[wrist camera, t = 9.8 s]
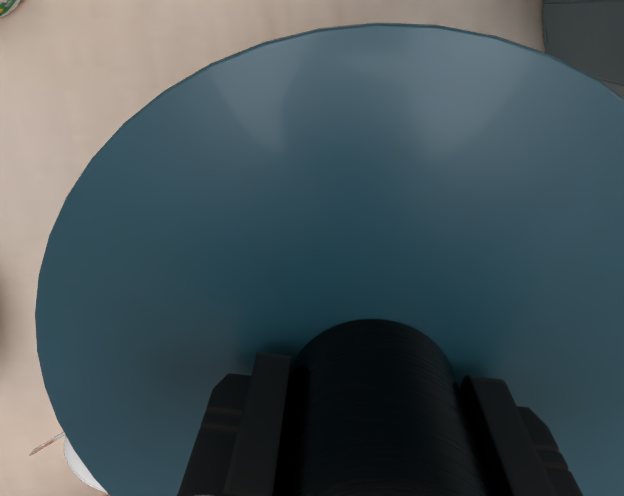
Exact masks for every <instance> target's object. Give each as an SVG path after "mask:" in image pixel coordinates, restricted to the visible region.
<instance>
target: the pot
mask: <svg viewBox="0 0 624 496" xmlns="http://www.w3.org/2000/svg"><path fill="white" fill-rule="evenodd" d="M542 24H543V38H544V44H545V49H546V54H549V55H552V56H554V57H555V58H557V59H559V60H561V61H563V62H565V63H567V64H569V65H571V66H572V67H574V68H576V69H578V70H580V71H582V72H584V73H586V74H588V75H590V76H591V77H593V78H595V79H597V80H599V81H601V82H602V83H603V84H605V85H606V86H607V87H609V88H610V89H611V90H613V91H614V92H615V93H617V94H618V95H619V96H621V97H622V98H623V99H624V0H543V10H542Z"/></svg>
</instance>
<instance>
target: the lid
mask: <svg viewBox="0 0 624 496" xmlns="http://www.w3.org/2000/svg"><path fill="white" fill-rule="evenodd" d="M35 321H36V337H37V352H38V357H39V361H40V366H41V371H42V375H43V380H44V384H45V388H46V391H47V393H48V396H49V399H50V401H51V404H52V407H53V409H54V412H55V415H56V417H57V420H58V422H59V424H60V425H61V427H62V429H63V431H64V433H65V435H66V437H67V438H68V440H69V442H70V444H71V446H72V448H73V450H74V451H75V452H76V454H77V455H78V457H79V458H80V459H81V461H82V462H83V464H84V465H85V466H86V468H87V469H88V471H89V472H90V473H91V475H92V476H93V478H94V479H95V480H96V481H97V482H98V483H99V484H100V485H101V486H102V487H103V488H104V490H105V491H106V492H107V493H108V494H109V495H110V496H177V494H178V492H179V489H180V486H181V483H182V480H183V477H184V474H185V471H186V468H187V465H188V462H189V459H190V456H191V453H192V450H193V447H194V444H195V441H196V438H197V435H198V432H199V429H200V427H201V423H202V420H203V417H204V414H205V412H206V408H207V405H208V402H209V399H210V396H211V393H212V390H213V388H214V387H215V386H216V385H217V384H218V383H219V382H220V381H221V380H222V379H223V378H224V377H225V376H226V375H227V374H228V373H232V374H241V375H250V376H251V375H252V370H253V366H254V362H255V358H256V354H257V351H259V352H268V353H277V354H286V355H292V356H291V367H290V376H289V384H288V392H287V399H286V407H285V414H284V422H283V429H282V437H281V444H280V452H279V459H278V467H277V474H276V482H275V489H274V496H493V493H492V490H491V487H490V484H489V481H488V478H487V474H486V471H485V468H484V465H483V462H482V459H481V456H480V453H479V450H478V447H477V443H476V440H475V437H474V434H473V431H472V428H471V425H470V422H469V419H468V416H467V413H466V409H465V406H464V403H463V400H462V397H461V394H460V391H459V390H460V386H461V383H462V380H463V378H464V377H465V376H466V375H469V376H478V377H487V378H495V379H503V380H504V381H505V382H506V384H507V386H508V388H509V391H510V393H511V395H512V397H513V399H514V401H515V404H516V406H521V407H529V408H530V409H531V410H532V411H533V412H534V413H535V414H536V415H537V416H538V417H539V418H540V419H541V420H542V421H543V422H544V423H545V424H546V425H547V426H548V428H549V430H550V432H551V433H552V435H553V437H554V439H555V441H556V443H557V445H558V447H559V453H562V455H563V457H564V459H565V461H566V463H567V465H568V471H571V473H572V475H573V477H574V479H575V481H576V483H577V484H578V486H579V488H580V490H581V492H582V494H583V496H624V99H623V98H622V97H621V96H619V95H618V94H617V93H615V92H614V91H613V90H611V89H610V88H609V87H607V86H606V85H605V84H603V83H602V82H601V81H599V80H597V79H595V78H593V77H591V76H590V75H588V74H586V73H584V72H582V71H580V70H578V69H576V68H574V67H572V66H571V65H569V64H567V63H565V62H563V61H561V60H559V59H557V58H555V57H554V56H552V55H549V54H546V53H543V52H541V51H538V50H535V49H532V48H529V47H526V46H523V45H520V44H517V43H514V42H512V41H509V40H506V39H503V38H500V37H497V36H493V35H487V34H482V33H477V32H471V31H466V30H461V29H455V28H450V27H445V26H439V25H425V24H401V23H367V24H357V25H347V26H337V27H327V28H319V29H315V30H311V31H307V32H303V33H299V34H295V35H291V36H286V37H282V38H278V39H274V40H270V41H266V42H263V43H261V44H258V45H256V46H253V47H251V48H248V49H246V50H243V51H241V52H238V53H236V54H234V55H231V56H229V57H226V58H224V59H221V60H219V61H216V62H214V63H211V64H209V65H208V66H206V67H204V68H202V69H201V70H199V71H197V72H196V73H194V74H192V75H190V76H189V77H187V78H185V79H184V80H182V81H180V82H179V83H177V84H175V85H173V86H172V87H170V88H168V89H167V90H165V91H163V92H162V93H161V94H160V95H158V96H157V97H156V98H155V99H153V100H152V101H151V102H150V103H148V104H147V105H146V106H145V107H144V108H142V109H141V110H140V111H139V112H137V113H136V114H135V115H134V116H132V117H131V118H130V119H129V120H127V121H126V122H125V123H124V124H123V125H122V126H121V127H120V128H119V129H118V130H117V132H116V133H115V134H114V135H113V136H112V137H111V138H110V139H109V140H108V141H107V142H106V144H105V145H104V146H103V147H102V148H101V149H100V150H99V151H98V152H97V153H96V155H95V156H94V157H93V158H92V159H91V161H90V162H89V164H88V165H87V167H86V168H85V170H84V171H83V173H82V174H81V176H80V177H79V179H78V180H77V182H76V183H75V185H74V186H73V188H72V189H71V191H70V193H69V194H68V196H67V197H66V200H65V202H64V204H63V206H62V209H61V211H60V213H59V215H58V217H57V220H56V222H55V224H54V226H53V229H52V231H51V233H50V235H49V239H48V243H47V247H46V250H45V254H44V258H43V262H42V265H41V269H40V273H39V280H38V290H37V300H36V310H35Z"/></svg>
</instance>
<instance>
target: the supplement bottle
mask: <svg viewBox="0 0 624 496" xmlns="http://www.w3.org/2000/svg"><path fill="white" fill-rule="evenodd" d="M19 2H20V0H0V18H1V17H4V16H6V15H8V14H9V13H10V12H12V11H13V10H14V9H15V8H16V6H17V5H18V4H19Z"/></svg>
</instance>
